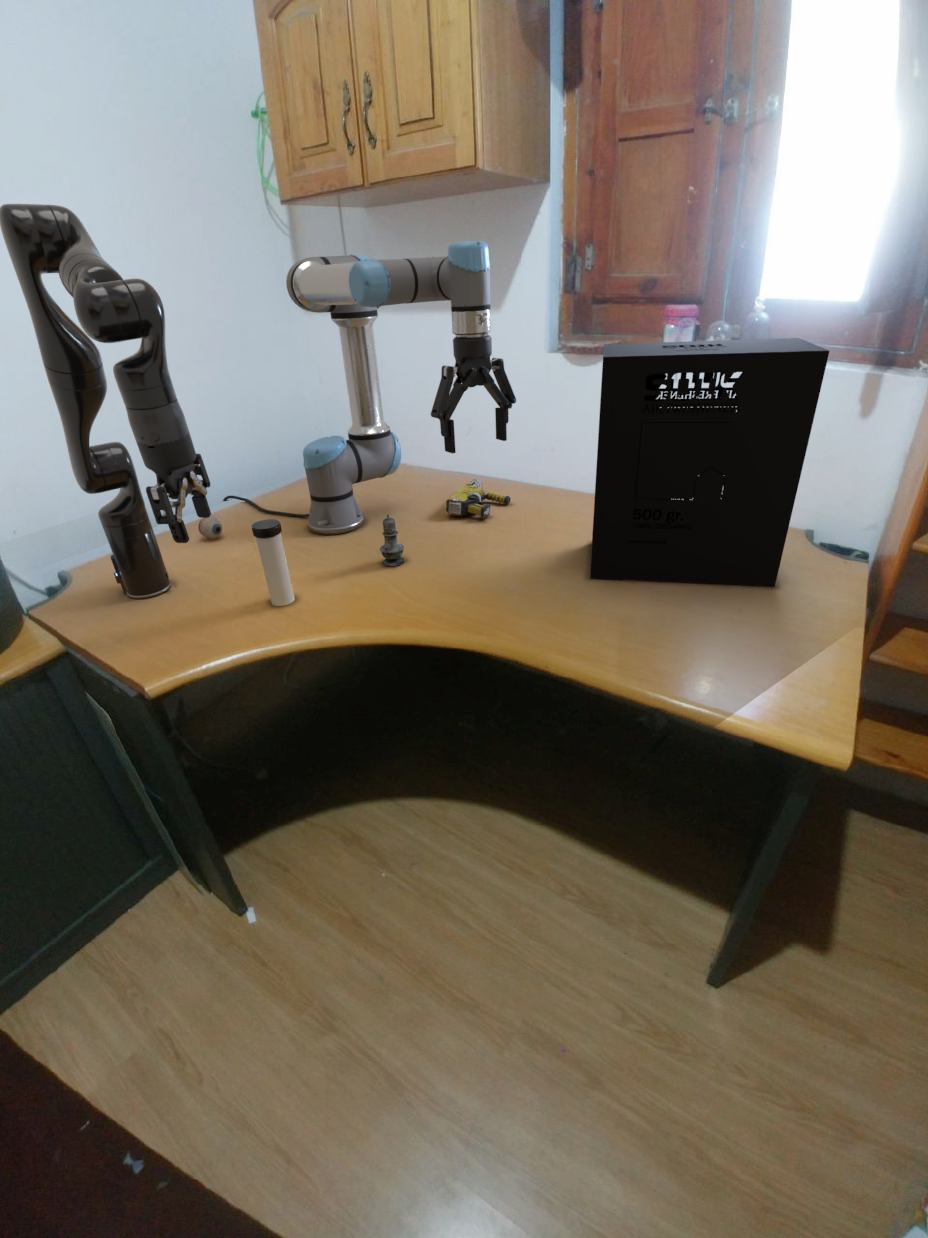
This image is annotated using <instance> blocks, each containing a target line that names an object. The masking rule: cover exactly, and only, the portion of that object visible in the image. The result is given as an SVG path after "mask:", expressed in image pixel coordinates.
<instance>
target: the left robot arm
mask: <svg viewBox="0 0 928 1238" xmlns="http://www.w3.org/2000/svg"><path fill="white" fill-rule="evenodd" d="M0 231H1V234H2V238H3V241H4V244H5V247H6V250H7V252H8V255H9V258H10V261H11V264H12V266H13V269H14V272H15V275H16V277H17V280H18V283H19V286H20V289H21V291H22V294H23V297H24V300H25V303H26V305H27V309H28V312H29V315H30V318H31V322H32V325H33V330H34V333H35V338H36V341H37V345H38V349H39V352H40V353H39V354H40V357H41V360H42V364H43V367H44V371H45V374H46V379H47V381H48V384H49V387H50V390H51V393H52V396H53V399H54V402H55V404H56V409H57V411H58V414H59V417H60V421H61V426H62V429H63V433H64V438H65V439H64V440H65V443H66V448H67V453H68V457H69V462H70V467H71V470H72V473H73V476H74V478H75V481H76V483H77V485H78V486H79V488H80V489H81V490H82V491H83V492H84V493H86V494H88V495H96V494H101V493H106V492H110V491H113V490H119V492H118V493H117V495H115V497H114V498H113V499H112V500H110V501H109V502H108V503H106V504H105V505H103V506H102V507H101V508H100V509H99V510H98V513H97V514H98V518H99V521H100V524H101V527H102V529H103V532H104V535H105V537H106V540H107V542H108V545H109V547H110V550H111V553H112V554H111V555H110V560H111V563H112V566H113V568H114V571H115V572H113V576H114V578H115V581H116V583H117V584H119V585H120V587H121V590H122V592H123V595H127V597H129V598H131V599H137V600H141V599H149V598H153V597H156V596H159V595H161V594H164V593H165V592H167V591H168V590H169V589H171V587H172V582H171V580H170V576H169V573H168V571H167V568H166V565H165V562H164V558H163V556H162V552H161V549H160V546H159V543H158V541H157V538H156V534H155V532H154V528H153V526H152V522H151V520H150V516H149V513H148V511H147V507H146V503H145V500H144V496H143V493H142V491H141V487H140V483H139V479H138V475H137V472H136V468H135V463H134V461H133V459H132V455H131V454H130V451H129V449H128V448H127V447H126V446H125V445H124V444H123V443H122V442H120V441H110V442H105V443H100V444H99V443H98V444H94V445H90V437H91V431H92V427H93V425H94V423H95V420H96V418H97V416H98V414H99V412H100V410H101V409H102V406H103V404H104V401H105V399H106V395H107V391H108V381H107V378H106V377H107V376H106V372H105V368H104V363H103V358H102V355H101V352H100V349H99V348H98V346H97V345H96V344H95V343H94V341H97V342H98V343H101V344H115V343H120V342H127V341H133V340H138V339H139V340H140V339H141V340H140V345H139V348H138V350H137V351H136V352H135V353H133V354H131V355H129V356H127V357H125V358H123V359H121V360H119V361H118V362H116V363H115V364H114V365H113V368H112V369H113V370H112V371H113V376H114V380H115V382H116V385H117V387H118V391H119V393H120V396H121V399H122V401H123V404H124V406H125V407H124V408H125V410H126V415H127V418H128V419H127V420H128V423H129V426H130V429H131V432H132V434H133V436H134V440H135V442H136V445H137V448H138V451H139V453H140V456H141V459H142V462H143V465H144V467H146V469H148V470H150V471H151V472H153V473H154V474H155V477H156V484H155V485H153V486H151V485H150V486H149V485H148V486H146V488H145V493H146V495H147V498H148V502H149V505H150V508H151V510H152V511H151V512H152V514H153V517H154V520H155V523H156V524H157V525H167V526H168V528H169V531H170V534H171V537H172V540H173V541H174V542H175V543H177V544H186V543H188V542H189V541H190V536H189V533H188V531H187V527H186V524H185V521H184V520H183V509H184V508H185V507H186V503H187V502H186V498H187V497H188V495H190V496H192V497H191V502H192V504H193V507H194V511H195V513H196V516H197V517H198V518H201V519H203V518H208V517H210V516H211V515H212V512H211V508H210V505H209V502H208V499H207V495H208V490H207V489H208V488H210V487H211V481H210V478H209V474H208V472H207V469H206V465H205V463H204V459H203V457H202V455H201V453H197V452H196V450H195V446H194V442H193V439H192V436H191V432H190V429H189V426H188V423H187V420H186V416H185V415H184V412H183V409H182V407H181V405H180V402H179V400H178V398H177V393H176V390H175V387H174V384H173V381H172V378H171V374H170V370H169V365H168V357H167V343H166V315H165V308H164V304H163V301H162V299H161V296H160V295H159V293H158V292H157V290H156V289H155V288H154V286H153V285H151V284H150V282H148V281H146V280H144V279H141V278H127V279H124V278H123V277H122V276H121V274H120V273H119V271H117V270H116V269H115V268H114V267H113V266H112V265H111V264H110V263H109V262H107V261H106V260H105V259H104V258H103V256H102V255H101V253H100V251H99V249H98V247H97V246H96V244H95V241H94V240H93V239H92V237H91V236H90V234H89V231H88V230H87V228H86V226H85V225H84V224H83V222H82V221H81V219H80V218H79V217H78V216H77V214H75V213H74V212H73V210H71V209H69V208H67V207H66V206H62V205H58V204H57V205H56V204H40V203H39V204H37V203H35V204H34V203H3V204H2V205H1V206H0ZM44 274H58V276H59V279H60V282H61V284H62V286H63V287H64V290H65V291H66V292H67V293H68V294H69V295H70V296H71V297H72V301H73V306H74V311H75V315H76V318H77V320H78V322H79V325H80V327H79V325H78V324H76V322H74V320H72V318H70V316H69V315H67V314H66V312H64V310H63V309H62V308H61V306H60V305H59V304H58V303H57V302H56V301H55V299H54V298H53V297H52V296H51V294H50V293H49V291H48V289H47V288H46V286H45V284H44V281H43V278H42V275H44ZM93 340H94V341H93ZM198 476H200V477H201V479H200V478H199V477H198ZM170 499H171V501H170ZM172 500H173V501H172ZM175 500H176V501H175ZM173 508H174V510H173Z"/></svg>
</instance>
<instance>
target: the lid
mask: <svg viewBox="0 0 928 1238" xmlns="http://www.w3.org/2000/svg"><path fill="white" fill-rule="evenodd" d="M251 531H252V535H253V537H255V538H256V537H257V538H269V537H273V536H276V535H278V534H280V533H282V532H283V528H282V525H281V522H280V520H279V519H273V518H268V519H262V520H258V521H256V522H254V523H252V524H251Z"/></svg>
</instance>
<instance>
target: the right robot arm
mask: <svg viewBox="0 0 928 1238" xmlns="http://www.w3.org/2000/svg"><path fill="white" fill-rule="evenodd" d="M490 263H491V262H490V252H489V245H488V244H487V242H485V241H484V240H466V241H455V242H451V243H450V244H449V245H448V247H447V256H431V257H430V256H427V257H413V258H411V257H410V258H391V259H390V258H386V259H374V258H370V257H369V256H367V255H358V254H349V255H328V256H326V255H325V256H310V257H305V258H302V259H300V260H298V261H296V262H295V263H293V265H291V267H290V268H289V269H288V272H287V275H286V281H285V282H286V283H285V284H286V285H285V286H286V290H287V293H288V296H289V297H290V299H291V300H292V303H294V304H295V305H296V306H298V307H299V308H300V309H302V310H304V311H306V312H310V313H318V314H319V313H320V314H321V313H330V320H331V321H332V322H333V323H334V324H335V325H336V326H337V327H338V332H339V333H338V334H339V339H340V347H341V355H342V361H343V369H344V375H345V382H346V383H345V384H346V389H347V396H348V404H349V410H350V418H351V425H350V426H349V428H348V430H347V436H348V439H345V437H343V436H341V435H332V436H324V437H321V438H318V439H315V440H312V441H311V442H309V443H308V444H306V445H305V446H304V448H303V450H302V457H303V459H302V460H303V467H304V471H305V476H306V481H307V486H308V492H309V498H310V507H309V513H304V514H303V513H292V512H285V511H277V510H271V509H266V508H264V507H261V506H260V505H258V504H257V503H255V502H253V501H252V500H250V499H248V498H245V497H241V496H237V495H227V496H225V497H224V498H223V500H222V501H223V502H227V501H228V500H229V499H235V500H240V501H242V502H246V503H249V505H251V506H253V507H255V509H258V511H261V512H263V513H267V514H273V515H278V516H279V515H280V516H288V517H294V518H308V521H307V524H308V528H309V529H308V530H310V531H311V532H312V533H314V534H317V535H323V536H324V535H325V536H327V535H329V536H331V535H339V534H340V535H341V534H345V533H350V532H353V531H355V530H357V529H359V528H361V527H362V526H363V525H364V523H365V519H364V514H363V512H362V510H361V508H360V505H359V504H358V501H357V500H356V498H355V495H354V489H353V485H354V484H355V485H356V484H359V483H363V482H368V481H371V480H375V479H381V478H385V477H387V476H390V475H392V474H394V473H396V472H397V470H398V469H399V467H400V465H401V462H402V446H401V443H400V441H399V437H398V436H397V435H396V434H395V432H394V431H391V426H390V425H388V423H386V422H385V420H384V419H385V418H384V410H383V402H382V393H381V385H380V377H379V368H378V367H379V366H378V358H377V349H376V341H375V331H374V324H375V322H376V320H377V319H378V317H379V314H378V309H379V308H381V307H385V306H394V305H403V304H405V305H406V304H417V303H419V304H420V303H427V302H428V303H429V302H444V301H448V302H449V301H450V311H451V313H450V314H451V315H450V316H451V334H453V335H454V337H453V339H452V350H453V358H454V359H455V363H454V366H452V365H442V366H441V373H440V374H441V375H440V376H441V377H440V381H439V384H438V388H437V390H436V395H435V398H434V401H433V404H432V407H431V411H430V416H431V418H435V419H438V421H439V426H440V435H441V437H443V441H444V442H443V443H444V452H446V453H450V454H456V433H455V420H454V419H451V418H452V416H453V414H454V413H455V410H456V409H457V406H458V404H459V402H460V401H461V399H462V397H463V396H464V393H465V392H466V391H468V389H469V388H474V387H477V386H478V387H482V386H483V387H484V389H485V390H486V391H487V392H488V394H489V396H491V398H492V399H493V401H494V402H495V403H496V405H497V406H498V407H495V408H494V410H495V411H494V413H495V414H494V415H495V439H496V440H499V441H502V442H507V441H508V438H507V435H508V433H507V424H509V410H510V409H512V407H513V404H516V403H517V398H516V394H515V393H514V390H513V388H512V385H511V383H510V380H509V378H508V375H507V373H506V370H505V363H504V362H505V361H504V359H503V358H499V357H493V358H491V356H492V354H493V346H492V344H493V343H492V340H493V339H492V336H491V335H489V333H491V332H492V315H491V314H492V312H491V311H492V309H491V264H490ZM491 370H492V374H493V376H494V378H493V376H492V375H491ZM455 377H456V378H455ZM454 378H455V380H454ZM495 381H496V383H497V384H496V383H495Z"/></svg>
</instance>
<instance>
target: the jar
mask: <svg viewBox="0 0 928 1238" xmlns="http://www.w3.org/2000/svg"><path fill="white" fill-rule="evenodd" d="M281 533H282V532H281ZM281 533H280V534H278V535H276V536H273V537H269V538H257V537H255V541H256V545H257V548H258V552H259V556H260V561H261V565H262V568H263V573H264V577H265V582H266V586H267V591H268V595H269V599H270V601H271V604H272V605H273V606H274V607H285V606H288V605H290V604H292V603H294V602H295V600H296V599H295V593H294V588H293V585H292V580H291V575H290V571H289V566H288V562H287V561H288V560H287V557H286V552H285V548H284V543H283V539H282V534H281Z"/></svg>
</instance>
